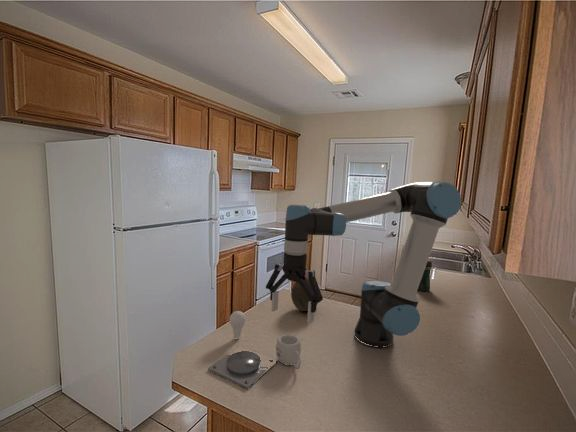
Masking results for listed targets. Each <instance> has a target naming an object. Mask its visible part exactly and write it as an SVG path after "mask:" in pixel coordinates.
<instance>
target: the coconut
mask: <svg viewBox="0 0 576 432" xmlns="http://www.w3.org/2000/svg"><path fill="white" fill-rule="evenodd" d="M306 279H307V278H306ZM301 280H302V279H301ZM302 281H303V280H302ZM307 282H308V284H309V285H310V282H309V278H308V279H307ZM310 287H311V285H310ZM311 289H312V288H311ZM290 293H291V294H290V295H291V296H290V297H291V300H292V304H293V305H294V307H295V308H296V309H298V311H300V310H301V311H300V312H302V311H308V303H309V302H310V299H309V298H308V296H307V294H306V293H305V291H304V289H303V288H302V286H301V285H300V284H299V283H298V282H294V284H293V286H292V288H291V292H290ZM317 305H319V303H317Z"/></svg>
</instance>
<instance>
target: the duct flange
mask: <svg viewBox="0 0 576 432" xmlns="http://www.w3.org/2000/svg"><path fill="white" fill-rule="evenodd" d="M269 361H270V362H273V360H269ZM260 363H261V360H260V357H259V356H258V355H257V354H255V353H253V352H249V351H241V352H237V353H234V354H232V355H228V354H226V355H225V356H223V357H222V358H220V359H219V360H218V361H215V363H213V364H212V365H210V366H209V367H207V371H208V370H210V371H212V372H214V373H216V374H218V375H220V376H222V377H224V378H225V379H224V378H223V379H224V380H226V379H228V380H230V381H229V382H231V381H232V382H231V383H233V382H234V383H233V384H235V383H236V384H235V385H237V384H238V385H237V386H239V385H240V386H239V387H241V386H242V387H241V388H243V387H244V388H243V389H245V388H246V389H245V390H247V389H248V388H249V387H250V386H251V385H252V384H253V383H254V382H255V381H256V380H257V379H258V378H259V377H260V376H261V375H262V374H263V373H264V372H265V371H266V370H260V368H262V369H263V368H267V369H268V367H261V366H260ZM270 367H271V366H270ZM210 371H209V372H210ZM212 372H211V373H212ZM214 373H213V374H214ZM216 374H215V375H216ZM218 375H217V376H218ZM220 376H219V377H220ZM222 377H221V378H222ZM228 380H227V381H228ZM254 384H255V383H254ZM254 384H253V385H254ZM253 385H252V386H253ZM252 386H251V387H252ZM251 387H250V388H251ZM250 388H249V389H250ZM249 389H248V390H249Z"/></svg>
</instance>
